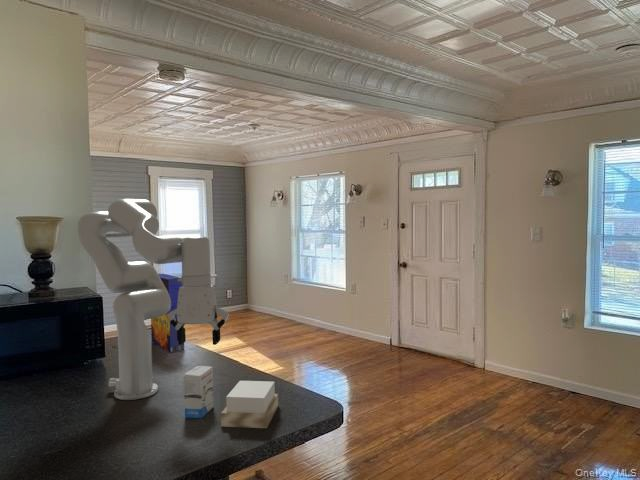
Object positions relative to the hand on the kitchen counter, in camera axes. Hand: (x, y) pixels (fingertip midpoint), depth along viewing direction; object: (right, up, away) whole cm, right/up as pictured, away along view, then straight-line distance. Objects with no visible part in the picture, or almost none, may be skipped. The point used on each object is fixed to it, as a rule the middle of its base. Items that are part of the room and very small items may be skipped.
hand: (199, 343), depth 126 cm
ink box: (0, -20, +1) cm, 20 cm away
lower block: (+15, -20, -2) cm, 25 cm away
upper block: (+15, -16, -2) cm, 22 cm away
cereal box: (-31, -17, +69) cm, 77 cm away
